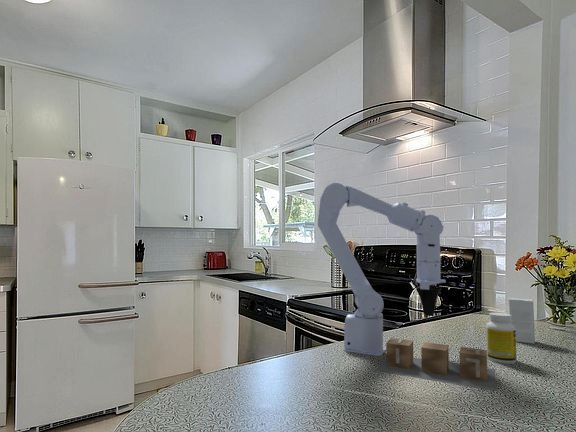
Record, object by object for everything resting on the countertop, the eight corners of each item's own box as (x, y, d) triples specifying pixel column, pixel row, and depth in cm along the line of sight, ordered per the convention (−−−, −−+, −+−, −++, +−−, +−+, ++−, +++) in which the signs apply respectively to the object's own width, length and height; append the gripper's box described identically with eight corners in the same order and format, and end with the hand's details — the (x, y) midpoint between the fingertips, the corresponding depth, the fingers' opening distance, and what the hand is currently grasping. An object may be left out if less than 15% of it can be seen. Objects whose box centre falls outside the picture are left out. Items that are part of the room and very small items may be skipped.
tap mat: (374, 371, 82) (374, 370, 82) (389, 355, 94) (389, 353, 94) (496, 392, 71) (496, 390, 71) (495, 370, 84) (495, 369, 84)
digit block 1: (386, 365, 85) (386, 342, 86) (391, 359, 90) (391, 337, 90) (409, 369, 83) (409, 345, 83) (413, 363, 87) (413, 340, 88)
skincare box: (534, 341, 110) (533, 299, 111) (535, 344, 107) (533, 301, 108) (510, 338, 114) (509, 297, 115) (509, 341, 110) (508, 299, 111)
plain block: (421, 371, 82) (421, 347, 82) (424, 364, 86) (424, 342, 87) (446, 375, 80) (446, 350, 80) (448, 368, 84) (448, 345, 84)
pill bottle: (520, 366, 87) (519, 317, 88) (491, 364, 89) (490, 315, 89) (510, 358, 93) (509, 312, 94) (483, 356, 95) (482, 311, 95)
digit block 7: (459, 377, 78) (459, 351, 79) (461, 370, 83) (460, 346, 83) (487, 382, 76) (486, 355, 76) (487, 374, 80) (486, 349, 81)
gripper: (442, 263, 90) (442, 322, 89) (447, 261, 103) (448, 312, 102) (411, 262, 93) (411, 318, 92) (420, 260, 106) (420, 310, 105)
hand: (429, 315), depth 97 cm, fingers closed
